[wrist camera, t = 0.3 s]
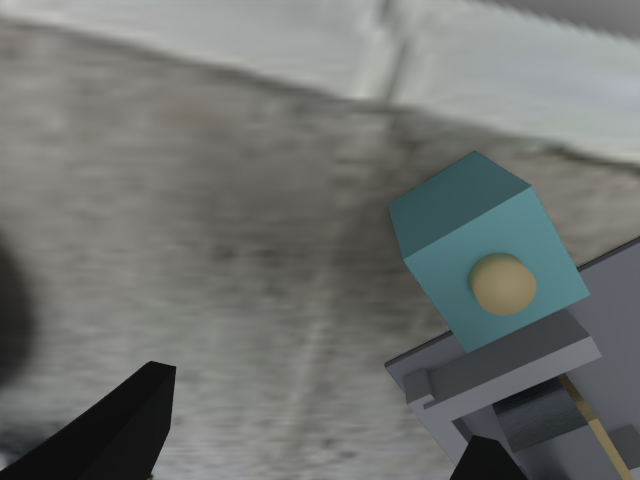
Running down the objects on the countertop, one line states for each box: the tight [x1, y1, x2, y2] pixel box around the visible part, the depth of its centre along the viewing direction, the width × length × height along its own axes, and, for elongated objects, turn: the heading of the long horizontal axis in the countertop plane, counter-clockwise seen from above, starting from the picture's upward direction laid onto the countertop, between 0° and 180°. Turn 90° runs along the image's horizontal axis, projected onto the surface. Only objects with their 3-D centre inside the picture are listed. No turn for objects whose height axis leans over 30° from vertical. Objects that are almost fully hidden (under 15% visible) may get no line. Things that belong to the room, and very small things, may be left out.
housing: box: [388, 151, 590, 353], centre depth 14 cm, size 4×4×6 cm
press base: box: [385, 238, 640, 480], centre depth 18 cm, size 12×16×3 cm
